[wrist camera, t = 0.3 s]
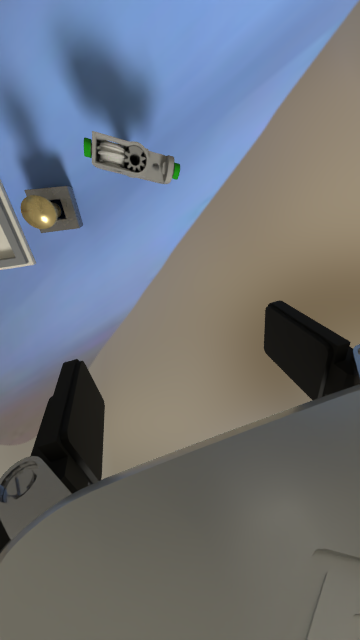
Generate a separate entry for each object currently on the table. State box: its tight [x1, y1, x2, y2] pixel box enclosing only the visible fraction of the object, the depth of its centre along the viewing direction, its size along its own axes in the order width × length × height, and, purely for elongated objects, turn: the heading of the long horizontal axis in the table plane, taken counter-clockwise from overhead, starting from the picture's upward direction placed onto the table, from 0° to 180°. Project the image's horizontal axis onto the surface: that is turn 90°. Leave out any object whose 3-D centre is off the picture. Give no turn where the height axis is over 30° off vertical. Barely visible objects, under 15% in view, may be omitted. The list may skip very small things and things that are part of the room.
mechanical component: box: [84, 131, 180, 184], centre depth 28 cm, size 3×10×10 cm, turn 79°
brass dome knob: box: [21, 195, 61, 229], centre depth 26 cm, size 3×3×7 cm
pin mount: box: [25, 186, 83, 233], centre depth 31 cm, size 5×5×4 cm
